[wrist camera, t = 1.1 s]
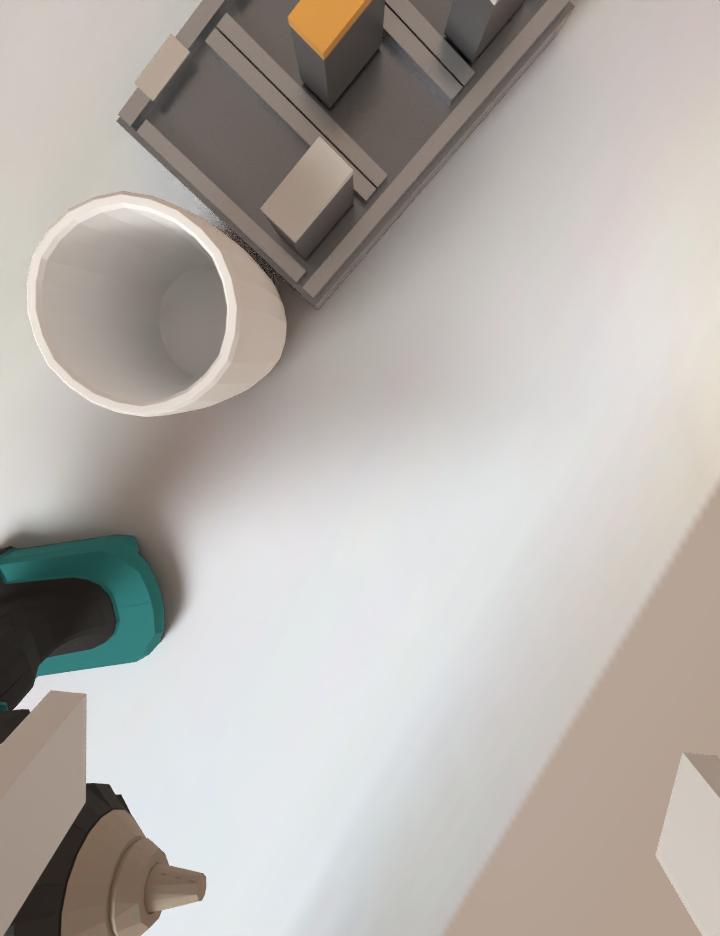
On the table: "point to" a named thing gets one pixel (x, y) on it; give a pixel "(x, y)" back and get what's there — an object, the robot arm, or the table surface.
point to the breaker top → (477, 23)
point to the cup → (151, 307)
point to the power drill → (104, 814)
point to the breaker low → (311, 198)
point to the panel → (321, 117)
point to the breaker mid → (335, 42)
